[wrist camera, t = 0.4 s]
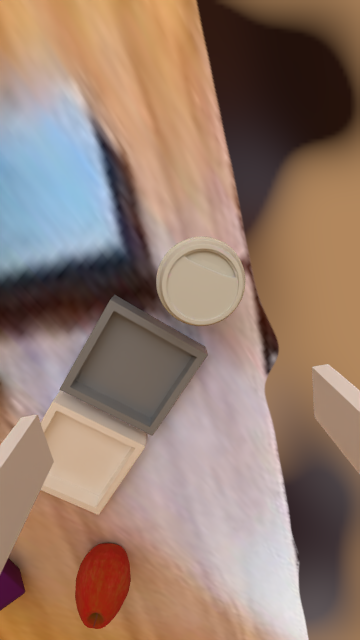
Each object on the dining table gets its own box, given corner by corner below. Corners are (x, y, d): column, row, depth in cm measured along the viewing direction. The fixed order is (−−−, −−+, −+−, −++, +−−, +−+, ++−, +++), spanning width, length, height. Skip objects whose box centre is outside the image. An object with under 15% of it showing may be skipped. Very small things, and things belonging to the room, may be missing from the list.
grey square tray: (66, 379, 43) (59, 389, 40) (114, 294, 40) (110, 299, 37) (153, 423, 45) (152, 435, 43) (205, 346, 42) (207, 354, 39)
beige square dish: (19, 462, 46) (10, 476, 44) (60, 390, 43) (52, 401, 41) (102, 498, 49) (98, 515, 46) (146, 433, 46) (145, 446, 43)
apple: (124, 525, 51) (113, 601, 40) (140, 561, 53) (133, 641, 43) (77, 538, 51) (54, 615, 41) (95, 572, 53) (77, 654, 43)
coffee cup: (238, 277, 40) (267, 296, 28) (184, 315, 41) (191, 347, 29) (201, 221, 38) (216, 216, 26) (146, 262, 39) (136, 275, 27)
